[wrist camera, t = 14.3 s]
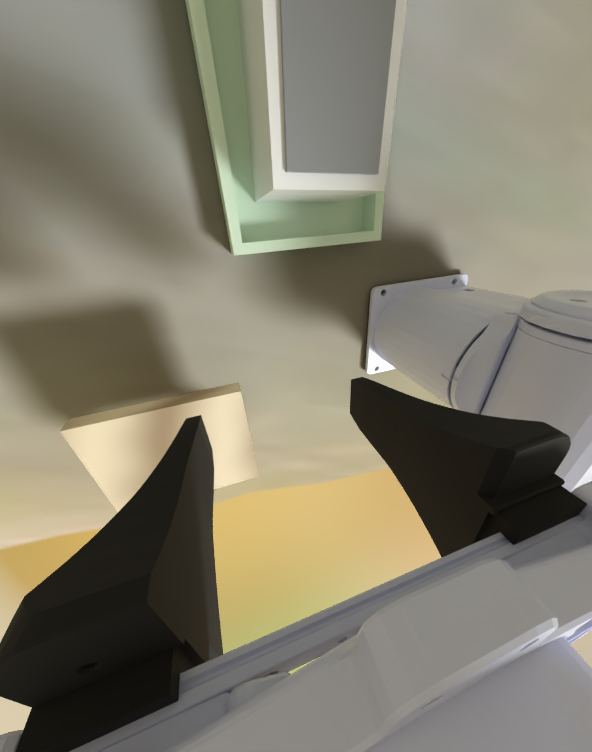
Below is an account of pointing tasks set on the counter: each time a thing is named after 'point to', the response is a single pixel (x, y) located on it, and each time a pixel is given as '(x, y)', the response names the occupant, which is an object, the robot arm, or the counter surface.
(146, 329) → the counter surface
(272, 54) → the white block with post
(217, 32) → the tray
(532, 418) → the robot arm
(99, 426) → the beige block
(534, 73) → the counter surface
